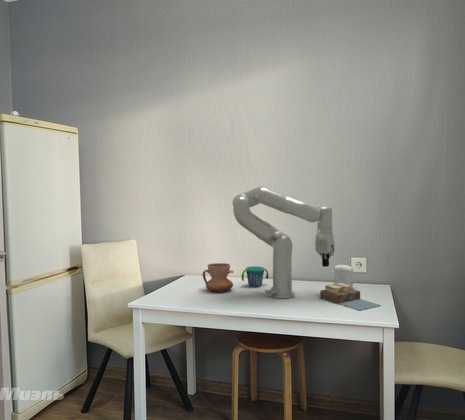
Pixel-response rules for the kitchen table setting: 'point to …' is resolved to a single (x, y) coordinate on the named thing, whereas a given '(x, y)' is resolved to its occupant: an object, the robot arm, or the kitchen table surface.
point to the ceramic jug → (218, 277)
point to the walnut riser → (340, 296)
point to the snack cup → (254, 275)
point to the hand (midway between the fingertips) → (325, 266)
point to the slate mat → (359, 304)
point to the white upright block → (343, 275)
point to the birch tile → (337, 288)
